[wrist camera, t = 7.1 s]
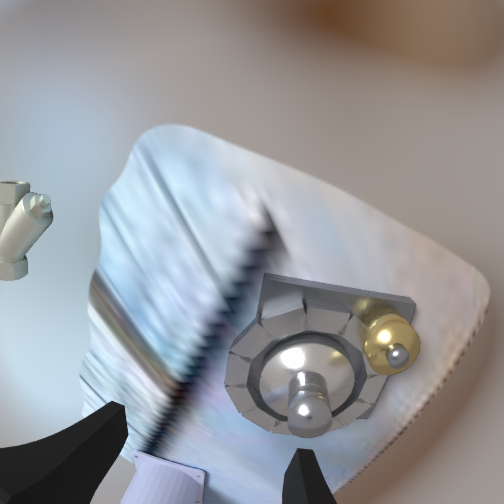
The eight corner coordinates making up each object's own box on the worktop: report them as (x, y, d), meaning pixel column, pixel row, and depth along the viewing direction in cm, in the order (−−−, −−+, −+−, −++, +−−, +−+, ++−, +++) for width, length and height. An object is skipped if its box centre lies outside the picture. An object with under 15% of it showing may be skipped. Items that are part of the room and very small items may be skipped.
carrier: (359, 419, 20) (369, 463, 15) (224, 402, 21) (210, 447, 16) (409, 297, 18) (442, 329, 13) (245, 269, 18) (231, 297, 13)
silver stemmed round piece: (329, 411, 19) (336, 460, 14) (251, 394, 19) (241, 445, 14) (364, 345, 17) (384, 392, 12) (276, 323, 18) (273, 370, 13)
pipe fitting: (65, 187, 19) (15, 179, 19) (34, 189, 15) (-15, 182, 15) (60, 281, 21) (12, 263, 21) (33, 296, 17) (-14, 274, 17)
